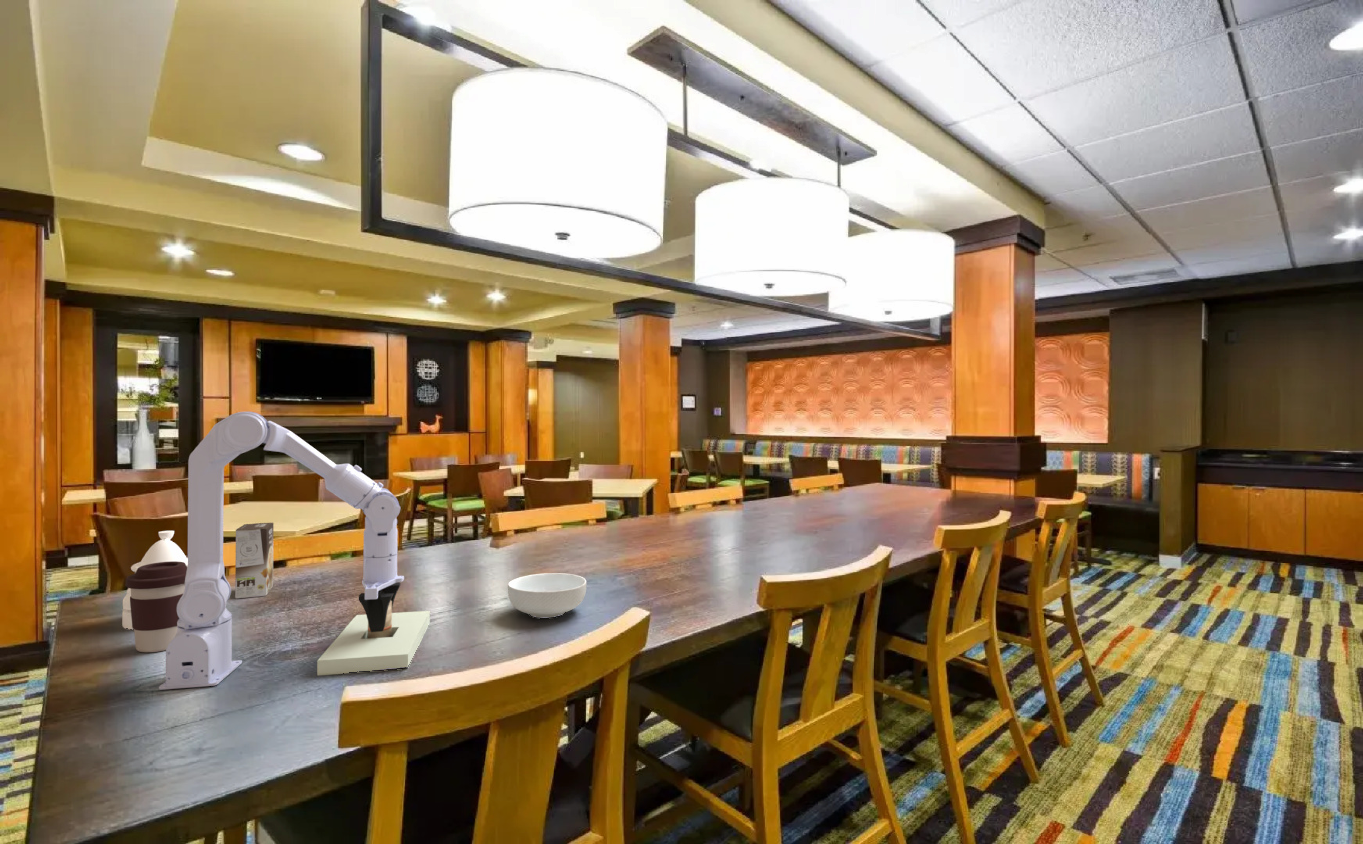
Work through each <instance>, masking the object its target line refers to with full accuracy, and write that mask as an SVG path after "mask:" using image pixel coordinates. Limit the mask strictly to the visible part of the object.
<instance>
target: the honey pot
mask: <svg viewBox="0 0 1363 844" xmlns="http://www.w3.org/2000/svg"><path fill="white" fill-rule="evenodd" d="M174 534H175V530H162V531H158V537H159V538H160V540H158V541H156V542H155V543H154V544H152V545H151V546H150V547H149V549H148V550H147V551H146V552H145V554H144V555H143V557H142V559H141V561H139V562H137V563H134V564H132V565H131V566H130V569H131V571H132V572H134V574H135V573H136V571H137V569H138V568H139V567H141V566H144V565H148V564H152V563H159V562H171V561H178V562H184V563H185V564H186V566H187V567H188V557H187V555H185V553H184V551H183V550H182V549H181V547H180V546H179V545H178V544H177V543H176V542H173V540H171V539H172V538H173V537H174ZM130 597H131V588H128V587H127V589H126V595H124V597H123V599H122V608H123V609H122V611H121V612H122V616H121V617H122V623H121V624H122V625H121V627H122V628H123V629H126V628H128V629H127V630H130V629H132V631H134V630H133V628H132V618H131V607H130Z"/></svg>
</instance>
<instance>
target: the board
mask: <svg viewBox="0 0 1363 844" xmlns="http://www.w3.org/2000/svg"><path fill="white" fill-rule="evenodd" d="M430 623H431V611H430V610H423V611H422V610H421V611H406V612H404V611H403V612H392V637H385V638H370V639H368V619H367V615H366V613H365V614H356V615H355V616H354V617H353V618H352V620H351V621H350V622H349V623H348V624H347V625H346V627H345V628H344V629H343V630H342V631H341V632H340V633H339V634H338V636H337V637H336V638H335V639H334V640H333V642H331V644H330V645H329V646H328V647H327V649H326V650H325V651H324V653H322V654H321V656H320V657H319V658H318V659H317V661H316V663H317V665H316V666H317V669H316V672H317V674H316V675H317V676H329V675H341V674H343V673H344V674H350V673H349V672H357V671H358V672H357V673H360V672H359V671H370V672H373V671H372V670H380V669H386V668H400V667H408V665H409V664H410V665H411V663H412V661H413V659H414V657H415V655H414V654H416V653H415V652H417V651H416V650H418V649H417V648H419V647H418V646H420V644H421V642H422V640H423V637H424V636H425V634H426V632H427V630H428V627H429V626H428V625H430ZM413 656H414V657H413ZM412 658H413V659H412ZM411 660H412V661H411ZM410 662H411V663H410ZM410 665H409V666H410ZM408 668H409V667H408Z"/></svg>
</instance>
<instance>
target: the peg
mask: <svg viewBox="0 0 1363 844" xmlns="http://www.w3.org/2000/svg"><path fill="white" fill-rule="evenodd" d="M392 613H393V607H392V601H390V603H389V606H388V610H387V616H386V623H385V627H384V630H383V631H381V632H371V631H370V628H369V624H368V639H370V638H385V637H392Z"/></svg>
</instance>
